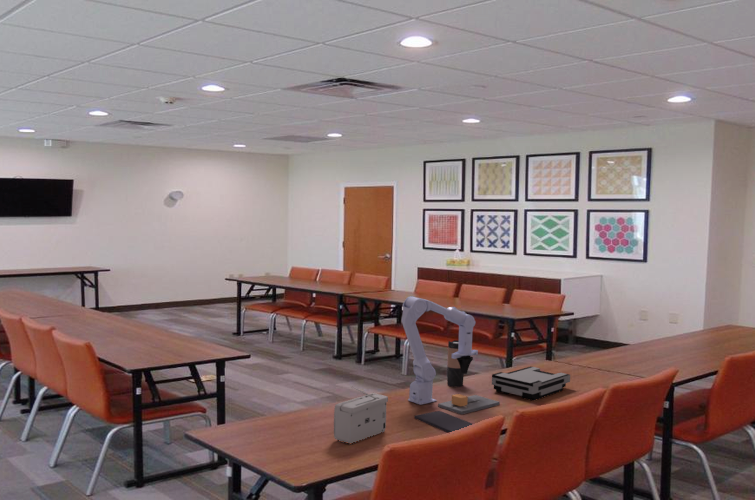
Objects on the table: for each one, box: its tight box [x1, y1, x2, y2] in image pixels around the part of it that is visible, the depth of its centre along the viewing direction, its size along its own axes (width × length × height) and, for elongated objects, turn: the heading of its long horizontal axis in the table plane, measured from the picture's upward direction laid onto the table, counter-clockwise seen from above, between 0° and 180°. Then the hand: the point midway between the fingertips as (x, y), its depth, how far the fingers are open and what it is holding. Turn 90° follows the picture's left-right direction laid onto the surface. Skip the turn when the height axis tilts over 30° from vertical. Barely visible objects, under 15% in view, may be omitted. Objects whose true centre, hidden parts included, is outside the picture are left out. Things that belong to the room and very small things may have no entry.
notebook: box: [414, 410, 473, 433], centre depth 255 cm, size 13×2×21 cm
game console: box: [491, 366, 571, 401], centre depth 305 cm, size 21×32×8 cm, turn 136°
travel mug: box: [446, 339, 465, 388], centre depth 310 cm, size 8×8×20 cm
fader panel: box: [437, 394, 500, 415], centre depth 279 cm, size 23×13×1 cm, turn 130°
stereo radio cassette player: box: [333, 386, 389, 444], centre depth 237 cm, size 21×8×20 cm, turn 141°
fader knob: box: [451, 393, 469, 407], centre depth 275 cm, size 4×5×3 cm
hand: (464, 373), depth 290 cm, fingers closed
